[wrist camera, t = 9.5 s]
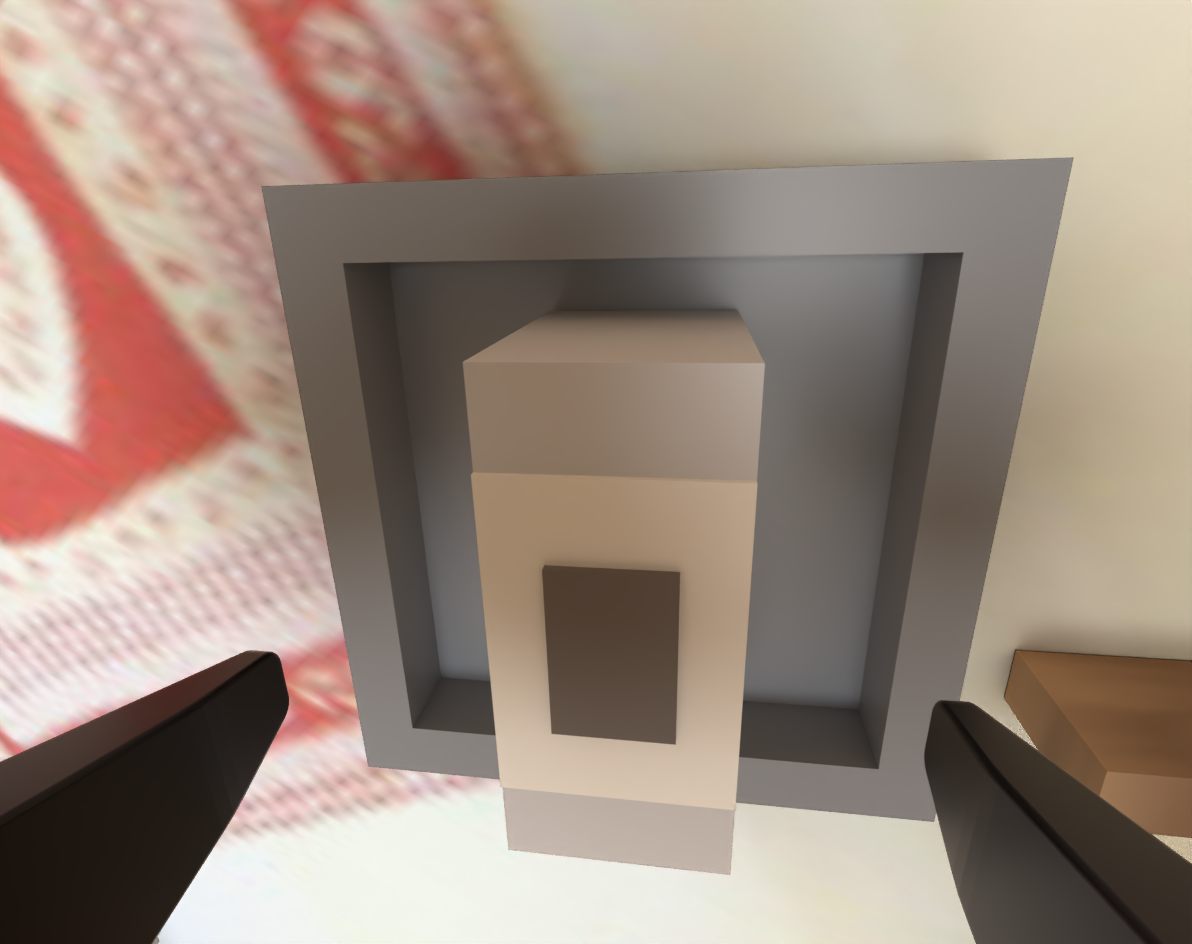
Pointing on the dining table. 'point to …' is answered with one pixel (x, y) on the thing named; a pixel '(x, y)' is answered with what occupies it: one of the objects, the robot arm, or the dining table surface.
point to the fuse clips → (1113, 729)
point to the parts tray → (787, 436)
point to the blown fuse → (618, 576)
